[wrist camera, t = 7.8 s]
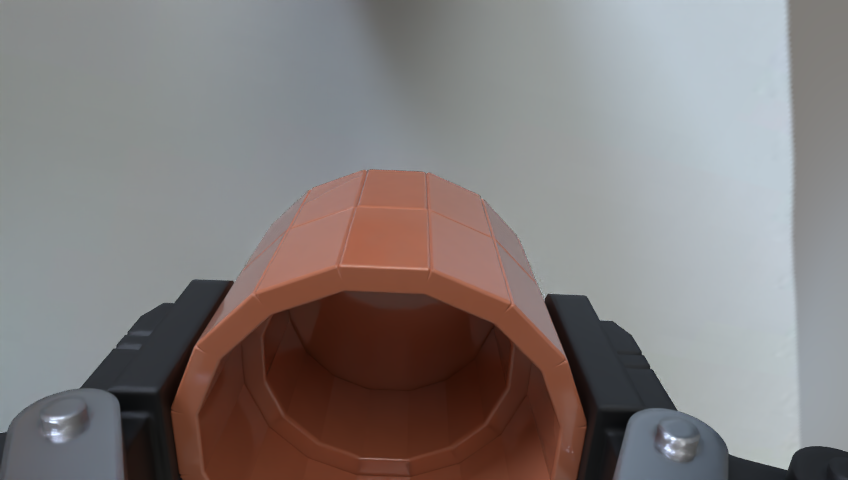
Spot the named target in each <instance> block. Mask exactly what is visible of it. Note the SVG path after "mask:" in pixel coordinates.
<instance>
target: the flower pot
mask: <svg viewBox="0 0 848 480" xmlns="http://www.w3.org/2000/svg"><path fill="white" fill-rule="evenodd" d="M171 420H172V427H173V434H174V442H175V449H176V456H177V463H178V470H179V474H180V477H181V479H182V480H577V478H578V473H579V468H580V462H581V457H582V452H583V447H584V441H585V436H586V431H587V419H586V416H585V413H584V410H583V407H582V404H581V400H580V397H579V394H578V391H577V388H576V385H575V381H574V378H573V375H572V372H571V369H570V365H569V362H568V360H567V357H566V355H565V352H564V349H563V347H562V344H561V342H560V339H559V337H558V334H557V332H556V329H555V327H554V324H553V322H552V319H551V317H550V314H549V312H548V309H547V307H546V304H545V302H544V299H543V297H542V294H541V292H540V289H539V287H538V284H537V282H536V279H535V277H534V274H533V272H532V269H531V267H530V264H529V262H528V259H527V257H526V254H525V252H524V249H523V247H522V244H521V241H520V240H519V239H518V237H517V235H516V234H515V233H514V231H513V230H512V229H511V228H510V227H509V226H508V225H507V224H506V223H505V222H504V221H503V219H502V218H501V217H500V216H499V215H498V214H497V213H496V212H495V211H494V210H493V209H492V207H491V206H490V205H489V204H488V203H487V202H486V201H485V200H484V199H481V197H480V196H479V195H478V194H476V193H474V192H471V191H469V190H467V189H465V188H463V187H460V186H458V185H456V184H454V183H452V182H449V181H447V180H445V179H443V178H441V177H438V176H436V175H434V174H432V173H427V174H426V173H425V172H419V171H397V170H375V169H370V170H367V171H366V170H361V171H359V172H356V173H353V174H350V175H347V176H344V177H342V178H339V179H336V180H333V181H330V182H327V183H325V184H322V185H319V186H316V187H313V188H312V189H311V190H308V191H307V192H306V193H305V194H304V195H303V196H302V197H301V198H300V199H298V200H297V201H296V202H295V203H294V204H293V205H292V206H291V207H290V208H289V209H288V210H287V211H286V212H284V213H283V214H282V215H281V216H280V217H279V218H278V219H277V220H276V221H275V222H274V223H273V224H272V225H271V226H270V228H269V229H268V230H267V232H266V234H265V235H264V237H263V238H262V240H261V241H260V243H259V245H258V246H257V248H256V249H255V251H254V253H253V254H252V256H251V257H250V259H249V260H248V262H247V264H246V265H245V267H244V268H243V270H242V272H241V273H240V275H239V277H238V278H237V279H236V281H235V282H234V284H233V286H232V287H231V289H230V290H229V292H228V294H227V295H226V297H225V298H224V300H223V301H222V303H221V305H220V306H219V308H218V309H217V311H216V313H215V314H214V316H213V317H212V319H211V320H210V322H209V324H208V325H207V327H206V328H205V330H204V332H203V333H202V335H201V336H200V338H199V339H198V341H197V343H196V344H195V346H194V348H193V350H192V353H191V356H190V358H189V361H188V363H187V366H186V369H185V371H184V374H183V377H182V379H181V382H180V384H179V387H178V390H177V392H176V395H175V398H174V400H173V403H172V405H171Z"/></svg>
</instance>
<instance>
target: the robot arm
mask: <svg viewBox="0 0 848 480" xmlns="http://www.w3.org/2000/svg"><path fill="white" fill-rule="evenodd" d="M233 284H234V282H233V281H222V280H197V279H195V280H192V281H191V282H190V284H189V285H188V286H187V288H186V289H185V290H184V291H183V293H182V294H181V295H180V297H179V298H178V299H177V300H176V302H175V303H163V304H161V305H159V306H158V307H156V308H154V309H153V310H151V311H149V312H147V313H146V314H144V315H142V316H141V317H140V318H139V319H138V320H137V322H136V323H135V324H134V325H133V326H132V328H131V329H130V330H129V331H128V335H125V336H124V337H123V338H122V339H121V341H120V342H119V343H118V344H117V347H116V349H113V350H112V351H111V352H110V354H109V355H108V356H107V357H106V358H105V359H104V361H103V362H102V363H101V364H100V365H99V366H98V368H97V369H96V370H95V371H94V372H93V374H92V375H91V376H90V377H89V378H88V379H87V381H86V382H85V383H84V384H83V385H82V387H81V388H80V389H73V390H67V391H63V392H59V393H56V394H53V395H50V396H47V397H45V398H43V399H40V400H38V401H37V402H35V403H33V404H31V405H30V406H28V407H27V408H25V409H24V410H23V411H21V412H20V413H19V414H18V415H17V416H16V417H15V418H14V419H13V421H12V422H11V424H10V425H9V428H8V431H7V432H5V433H0V480H182V479H181V477H180V474H179V470H178V463H177V456H176V449H175V442H174V434H173V427H172V420H171V405H172V403H173V400H174V398H175V395H176V392H177V390H178V387H179V384H180V382H181V379H182V377H183V374H184V371H185V369H186V366H187V363H188V361H189V358H190V356H191V353H192V350H193V348H194V346H195V344H196V343H197V341H198V339H199V338H200V336H201V335H202V333H203V332H204V330H205V328H206V327H207V325H208V324H209V322H210V320H211V319H212V317H213V316H214V314H215V313H216V311H217V309H218V308H219V306H220V305H221V303H222V301H223V300H224V298H225V297H226V295H227V294H228V292H229V290H230V289H231V287H232V286H233ZM544 302H545V304H546V307H547V309H548V312H549V314H550V317H551V319H552V322H553V324H554V327H555V329H556V332H557V334H558V337H559V339H560V342H561V344H562V347H563V349H564V352H565V355H566V357H567V360H568V362H569V365H570V369H571V372H572V375H573V378H574V381H575V385H576V388H577V391H578V394H579V397H580V400H581V404H582V407H583V410H584V413H585V416H586V419H587V431H586V436H585V441H584V447H583V452H582V457H581V462H580V468H579V473H578V478H577V480H848V452H845V451H842V450H839V449H834V448H830V447H822V446H812V447H805V448H803V449H800V450H798V451H797V452H795V454H794V455H793V457H792V460H791V462H790V465H789V468H788V470H784V469H780V468H776V467H772V466H768V465H764V464H760V463H757V462H753V461H749V460H745V459H741V458H738V457H735V456H732V455H730V454H728V449H727V446H726V444H725V442H724V441H723V439H722V438H721V437H720V435H719V434H718V433H717V432H716V431H715V430H713V429H712V428H711V427H710V426H708V425H707V424H705V423H704V422H702V421H700V420H699V419H697V418H695V417H693V416H690V415H688V414H685V413H682V412H679V411H677V409H676V407H675V406H674V404H673V402H672V401H671V399H670V398H669V396H668V394H667V393H666V391H665V389H664V388H663V386H662V384H661V383H660V381H659V380H658V378H657V376H656V375H655V373H654V371H653V370H652V369H650V365H649V363H648V361H647V360H646V358H645V357H644V355H642V352H641V350H640V348H639V347H638V345H637V343H636V342H635V340H634V338H633V337H632V335H630V334H629V333H628V332H626V331H625V330H624V329H622V328H621V327H620V326H618V325H617V324H616V323H614V322H613V321H600V320H599V318H598V316H597V314H596V313H595V311H594V309H593V307H592V305H591V303H590V301H589V300H588V298H587V297H586V296H584V295H560V294H548V295H547V296H546V298H545V301H544Z"/></svg>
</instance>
